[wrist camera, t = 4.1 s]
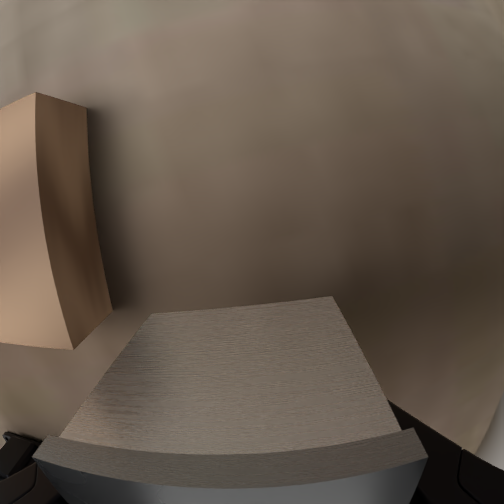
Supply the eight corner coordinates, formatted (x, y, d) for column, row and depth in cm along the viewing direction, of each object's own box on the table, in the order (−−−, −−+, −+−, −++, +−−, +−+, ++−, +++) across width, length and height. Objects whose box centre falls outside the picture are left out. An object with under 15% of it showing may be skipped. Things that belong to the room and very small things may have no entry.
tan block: (116, 308, 14) (73, 349, 10) (-5, 307, 14) (-48, 334, 10) (90, 109, 12) (35, 91, 8) (-29, 155, 12) (-79, 158, 8)
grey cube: (336, 430, 8) (368, 575, 3) (186, 440, 9) (149, 578, 4) (336, 291, 7) (428, 456, 2) (146, 310, 8) (31, 457, 3)
